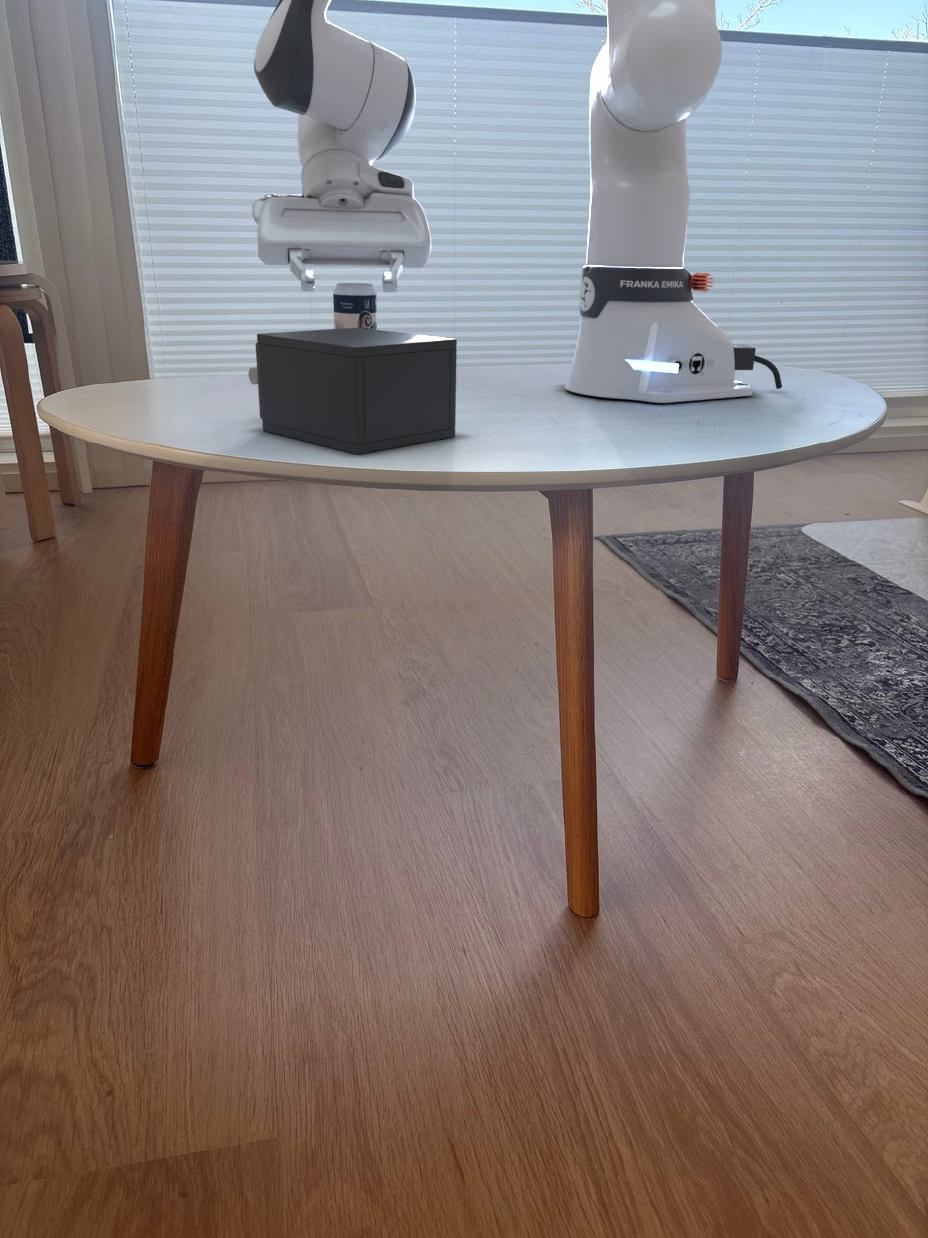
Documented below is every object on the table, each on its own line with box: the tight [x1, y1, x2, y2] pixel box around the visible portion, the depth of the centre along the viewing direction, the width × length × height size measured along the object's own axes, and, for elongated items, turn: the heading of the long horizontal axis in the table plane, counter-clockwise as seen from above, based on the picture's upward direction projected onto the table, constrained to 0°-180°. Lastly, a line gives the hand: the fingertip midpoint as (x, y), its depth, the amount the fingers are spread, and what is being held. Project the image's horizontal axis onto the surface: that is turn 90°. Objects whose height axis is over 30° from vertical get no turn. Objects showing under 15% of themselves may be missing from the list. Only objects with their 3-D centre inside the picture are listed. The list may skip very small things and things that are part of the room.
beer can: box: [332, 282, 378, 330], centre depth 104 cm, size 5×5×12 cm
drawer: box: [247, 342, 262, 420], centre depth 86 cm, size 16×10×7 cm, turn 46°
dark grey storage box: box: [256, 328, 458, 455], centre depth 84 cm, size 14×12×9 cm
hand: (349, 288), depth 107 cm, fingers open, 8 cm apart
